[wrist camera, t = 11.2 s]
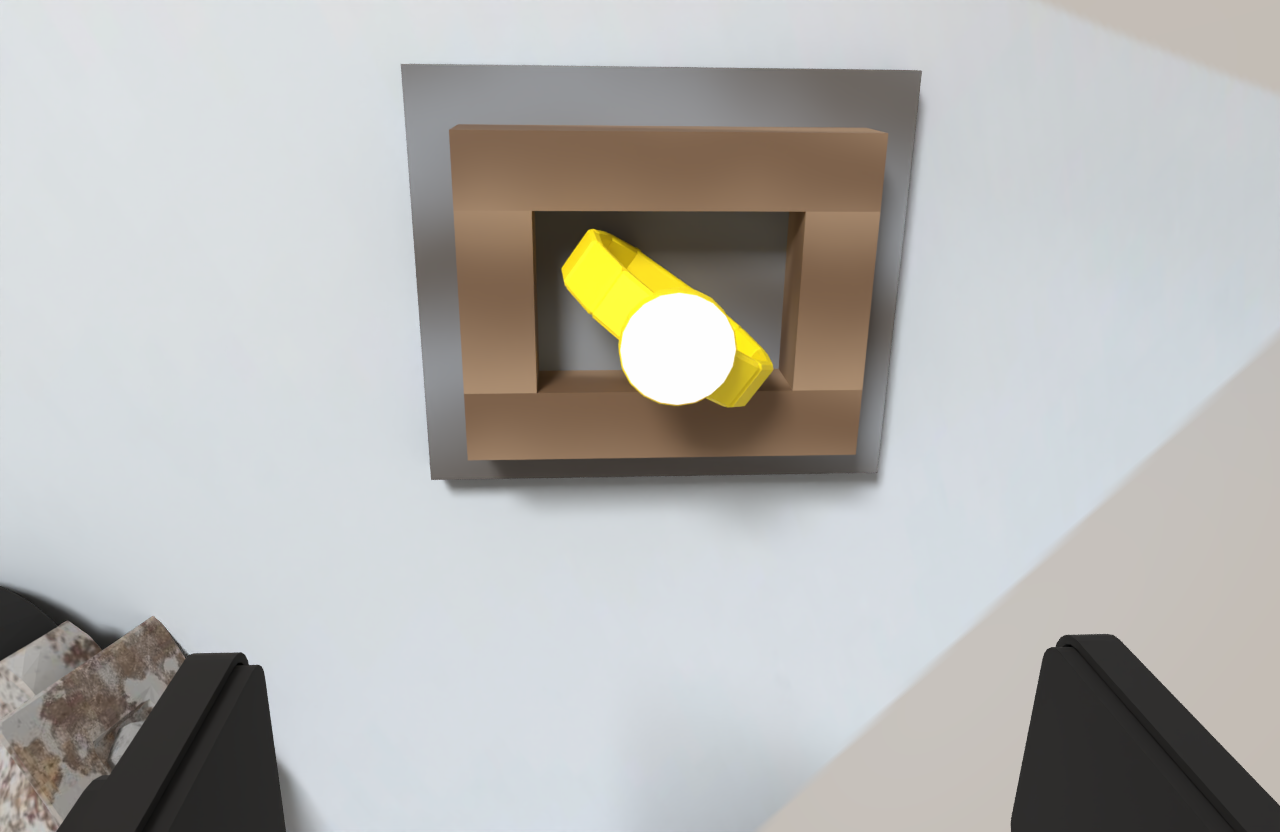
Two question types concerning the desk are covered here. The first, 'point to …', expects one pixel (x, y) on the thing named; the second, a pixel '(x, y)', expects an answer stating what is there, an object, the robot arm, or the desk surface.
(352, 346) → the desk surface
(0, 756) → the caster wheel
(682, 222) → the frame
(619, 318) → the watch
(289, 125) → the desk surface
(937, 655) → the desk surface
